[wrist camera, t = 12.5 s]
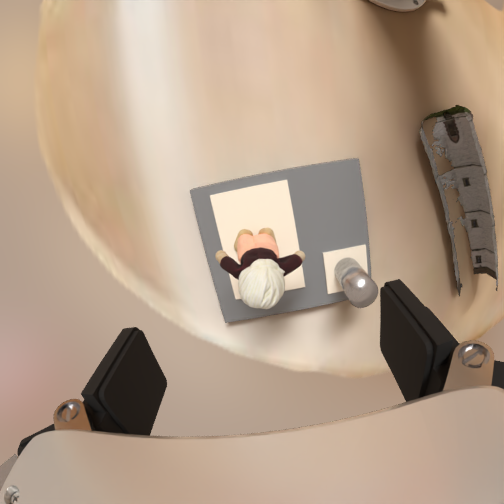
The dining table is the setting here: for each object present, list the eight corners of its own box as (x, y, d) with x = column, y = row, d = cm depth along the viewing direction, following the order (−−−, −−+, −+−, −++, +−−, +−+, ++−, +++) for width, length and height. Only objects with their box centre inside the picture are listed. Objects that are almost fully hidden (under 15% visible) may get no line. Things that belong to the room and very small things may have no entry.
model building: (420, 112, 30) (462, 271, 37) (411, 120, 26) (456, 300, 33) (468, 99, 24) (502, 269, 31) (469, 105, 20) (502, 299, 27)
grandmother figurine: (229, 265, 32) (213, 330, 20) (220, 231, 31) (197, 281, 19) (299, 250, 31) (323, 309, 19) (292, 216, 30) (315, 257, 18)
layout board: (354, 158, 30) (359, 158, 28) (367, 289, 35) (372, 295, 33) (192, 188, 31) (189, 190, 30) (226, 316, 36) (225, 324, 34)
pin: (358, 255, 31) (377, 276, 26) (360, 279, 32) (378, 303, 27) (333, 260, 32) (347, 283, 26) (335, 284, 33) (349, 310, 27)
